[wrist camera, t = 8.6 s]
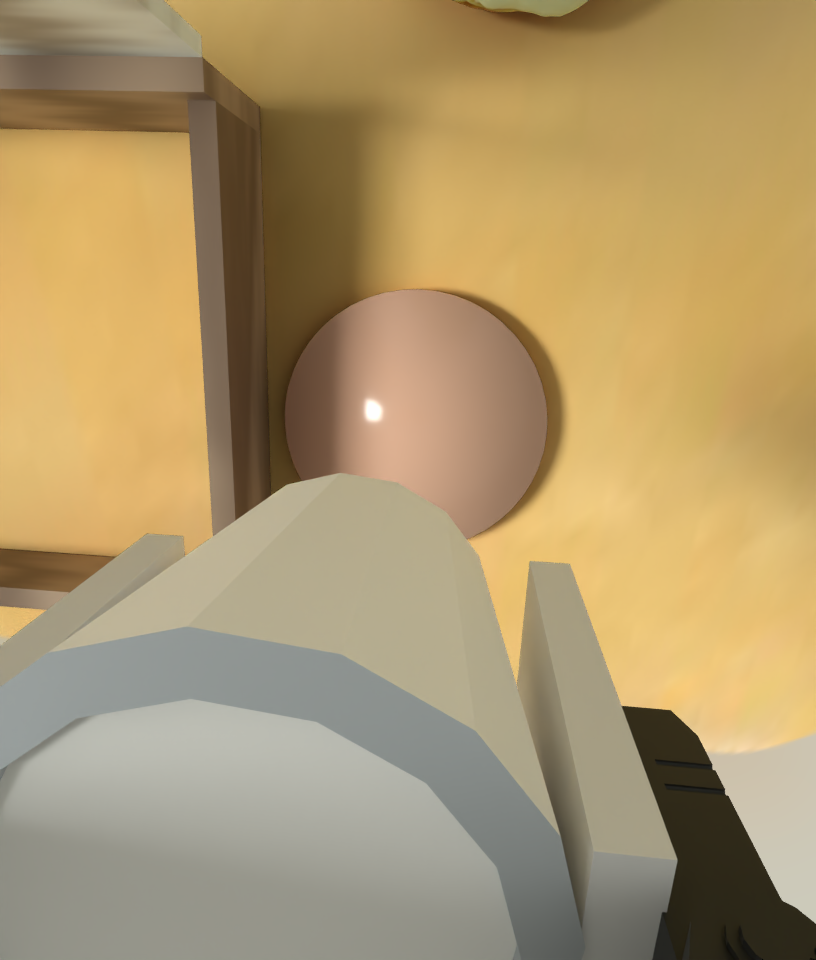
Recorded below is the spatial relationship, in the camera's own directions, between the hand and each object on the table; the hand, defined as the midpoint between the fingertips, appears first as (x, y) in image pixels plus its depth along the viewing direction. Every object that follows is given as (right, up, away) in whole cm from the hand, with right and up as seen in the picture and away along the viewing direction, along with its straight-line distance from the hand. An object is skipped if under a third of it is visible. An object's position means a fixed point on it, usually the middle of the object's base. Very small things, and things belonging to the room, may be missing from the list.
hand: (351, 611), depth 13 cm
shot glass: (0, 0, 0) cm, 0 cm away
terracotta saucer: (+1, +5, +17) cm, 18 cm away
